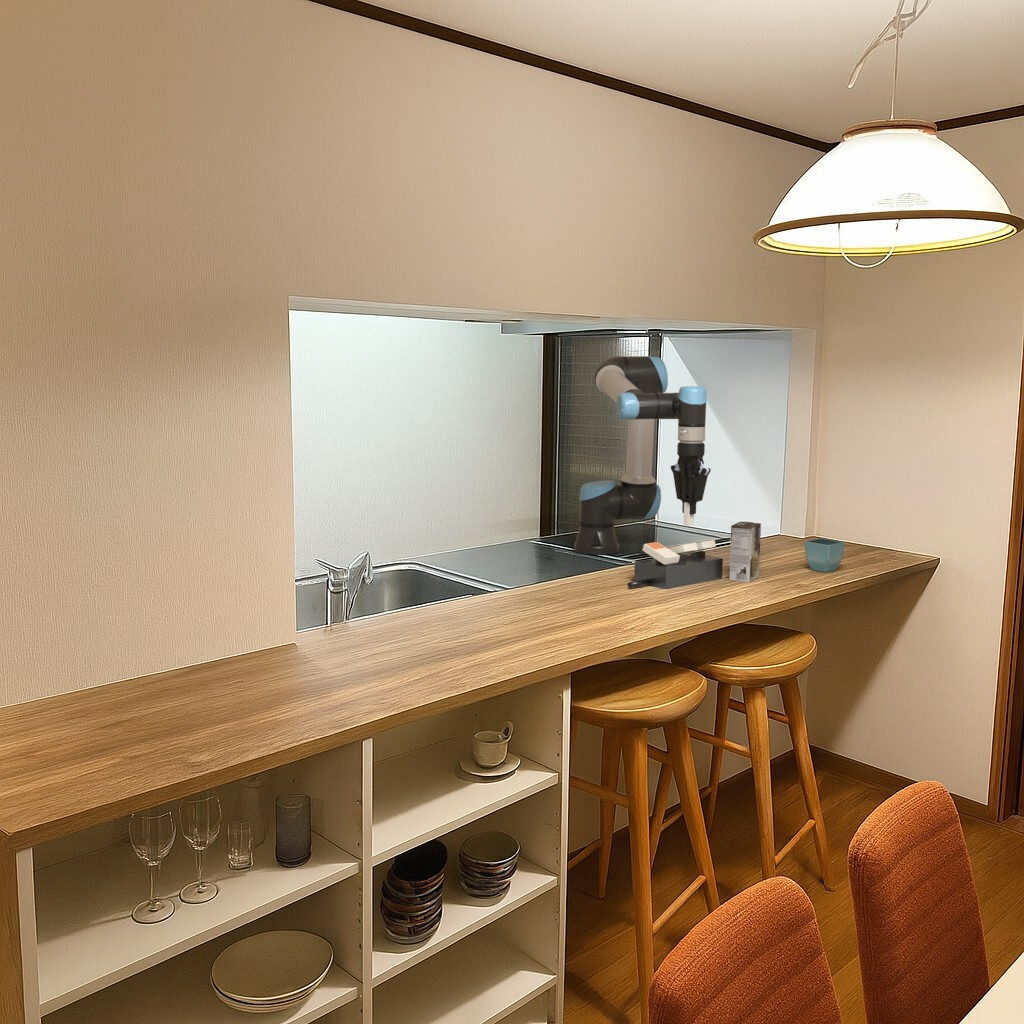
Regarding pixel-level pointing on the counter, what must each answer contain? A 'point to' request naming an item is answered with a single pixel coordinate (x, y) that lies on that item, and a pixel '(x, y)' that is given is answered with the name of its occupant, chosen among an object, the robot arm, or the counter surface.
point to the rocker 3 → (704, 545)
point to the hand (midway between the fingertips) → (688, 525)
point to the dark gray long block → (677, 571)
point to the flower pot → (824, 554)
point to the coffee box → (745, 551)
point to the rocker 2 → (684, 548)
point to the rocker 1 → (661, 553)
